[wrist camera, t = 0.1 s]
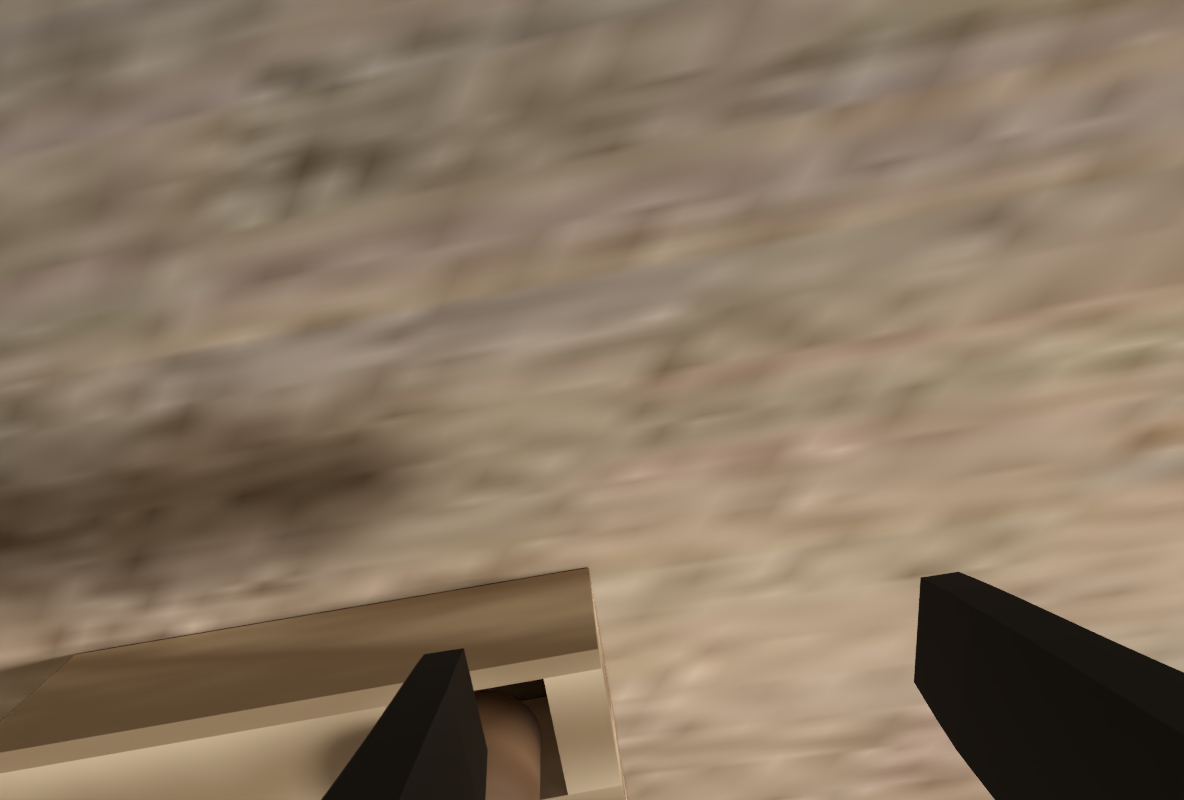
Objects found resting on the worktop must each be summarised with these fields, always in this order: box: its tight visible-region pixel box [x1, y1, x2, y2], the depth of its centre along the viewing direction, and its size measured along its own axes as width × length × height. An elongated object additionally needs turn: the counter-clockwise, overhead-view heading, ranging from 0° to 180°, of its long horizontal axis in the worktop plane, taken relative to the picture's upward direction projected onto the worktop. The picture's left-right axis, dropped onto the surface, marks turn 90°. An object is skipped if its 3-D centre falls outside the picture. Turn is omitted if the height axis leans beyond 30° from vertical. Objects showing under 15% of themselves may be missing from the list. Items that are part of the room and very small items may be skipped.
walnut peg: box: [474, 691, 541, 800], centre depth 15 cm, size 4×4×4 cm
